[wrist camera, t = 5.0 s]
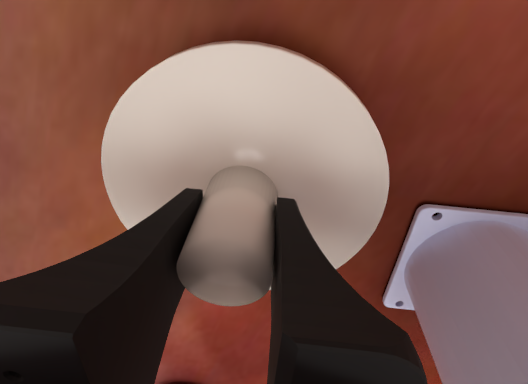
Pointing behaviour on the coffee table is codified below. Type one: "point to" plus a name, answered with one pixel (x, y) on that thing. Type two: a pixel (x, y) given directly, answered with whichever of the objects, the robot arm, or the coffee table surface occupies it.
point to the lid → (246, 160)
